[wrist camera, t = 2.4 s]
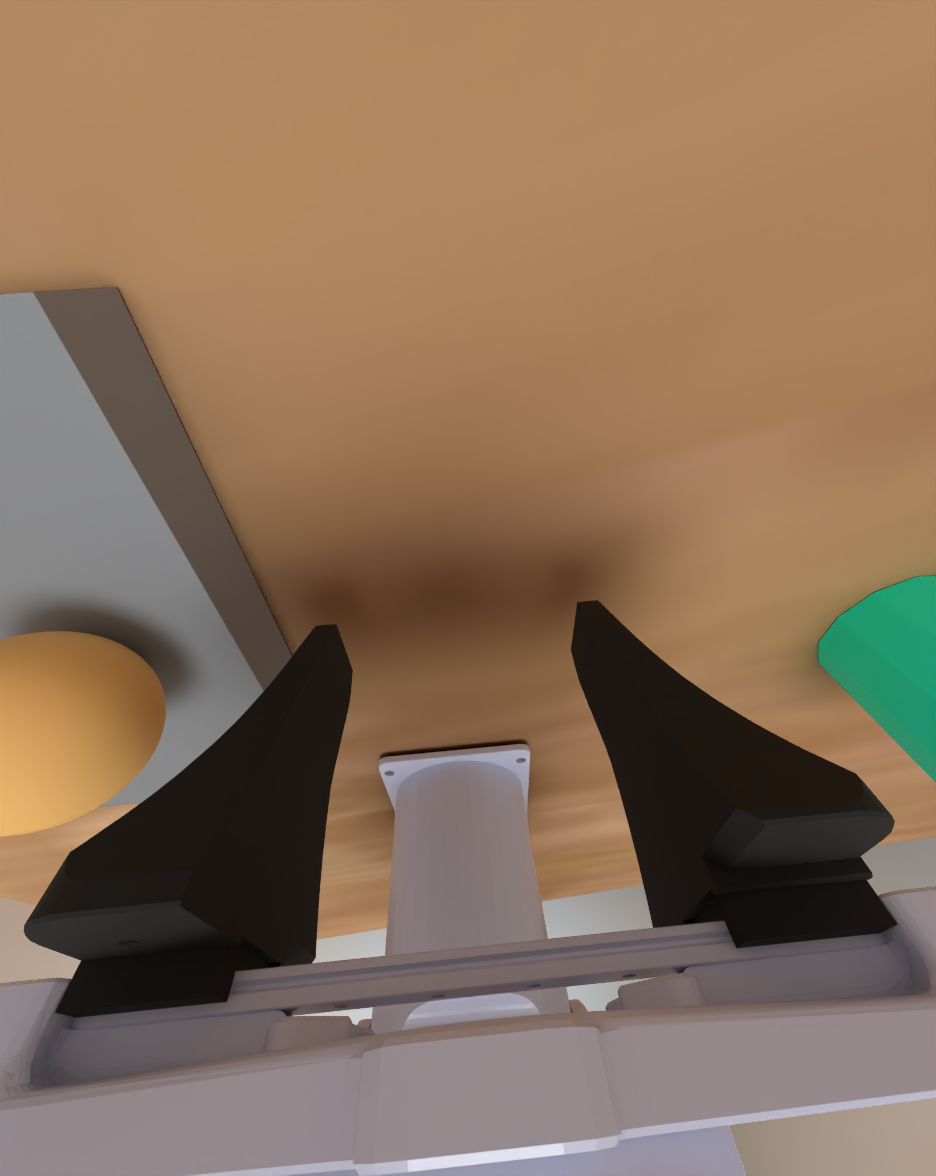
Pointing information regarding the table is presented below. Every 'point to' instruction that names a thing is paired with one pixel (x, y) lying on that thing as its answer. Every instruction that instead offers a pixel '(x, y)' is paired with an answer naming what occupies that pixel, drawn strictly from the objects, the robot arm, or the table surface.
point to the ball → (71, 725)
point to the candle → (891, 663)
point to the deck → (121, 521)
